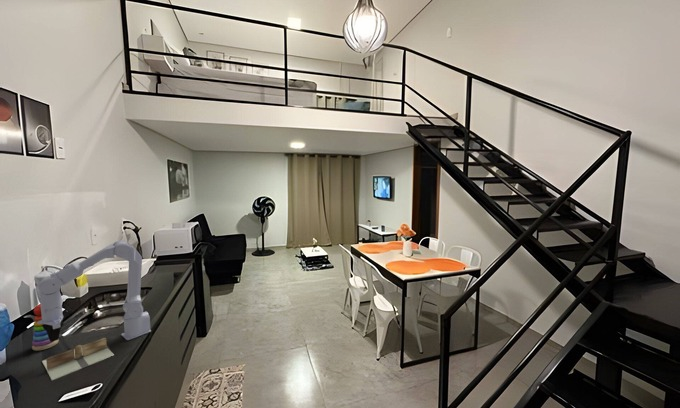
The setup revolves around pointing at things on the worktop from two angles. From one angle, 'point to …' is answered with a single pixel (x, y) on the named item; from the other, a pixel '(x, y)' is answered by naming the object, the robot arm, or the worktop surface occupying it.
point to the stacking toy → (40, 333)
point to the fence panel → (60, 358)
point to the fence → (90, 348)
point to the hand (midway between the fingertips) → (54, 340)
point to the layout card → (77, 363)
